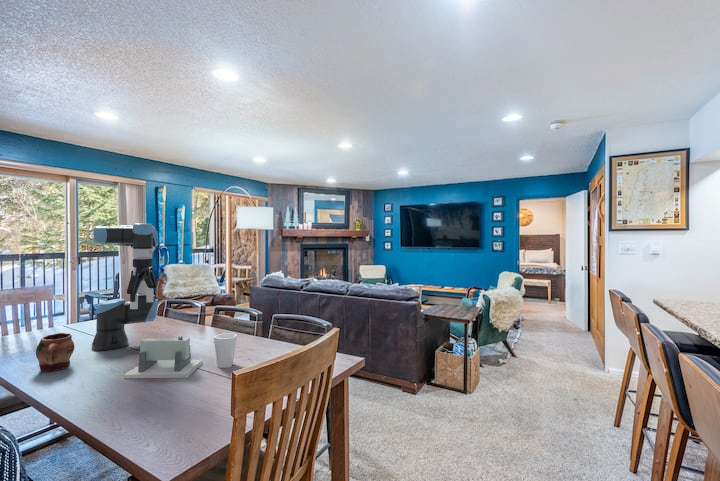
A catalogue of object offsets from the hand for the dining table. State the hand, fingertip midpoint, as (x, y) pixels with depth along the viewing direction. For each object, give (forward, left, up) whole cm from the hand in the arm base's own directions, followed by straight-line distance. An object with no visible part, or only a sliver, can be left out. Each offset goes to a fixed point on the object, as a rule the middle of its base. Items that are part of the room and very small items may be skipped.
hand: (142, 305), depth 156 cm
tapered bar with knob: (+11, +15, -20) cm, 28 cm away
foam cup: (+6, +38, -25) cm, 46 cm away
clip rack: (+11, +15, -25) cm, 31 cm away
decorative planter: (+8, -31, -26) cm, 41 cm away
